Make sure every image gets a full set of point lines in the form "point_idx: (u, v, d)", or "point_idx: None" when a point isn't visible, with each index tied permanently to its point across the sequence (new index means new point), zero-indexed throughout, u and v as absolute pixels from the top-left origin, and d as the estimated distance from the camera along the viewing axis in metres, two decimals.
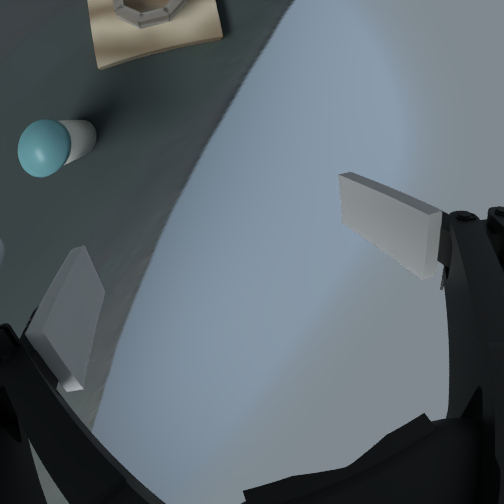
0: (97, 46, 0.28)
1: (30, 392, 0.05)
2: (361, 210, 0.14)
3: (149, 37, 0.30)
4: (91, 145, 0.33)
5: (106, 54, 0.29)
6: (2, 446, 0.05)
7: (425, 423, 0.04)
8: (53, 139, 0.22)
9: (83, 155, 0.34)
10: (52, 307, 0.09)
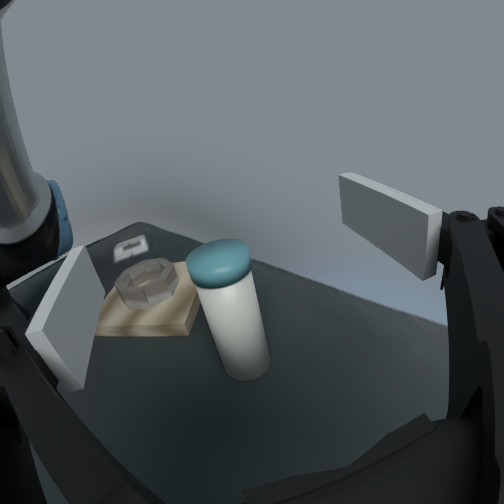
0: (163, 322, 0.38)
1: (30, 392, 0.05)
2: (361, 210, 0.14)
3: (184, 291, 0.43)
4: None
5: (176, 317, 0.38)
6: (2, 446, 0.05)
7: (425, 423, 0.04)
8: (216, 245, 0.27)
9: (267, 346, 0.31)
10: (52, 307, 0.09)
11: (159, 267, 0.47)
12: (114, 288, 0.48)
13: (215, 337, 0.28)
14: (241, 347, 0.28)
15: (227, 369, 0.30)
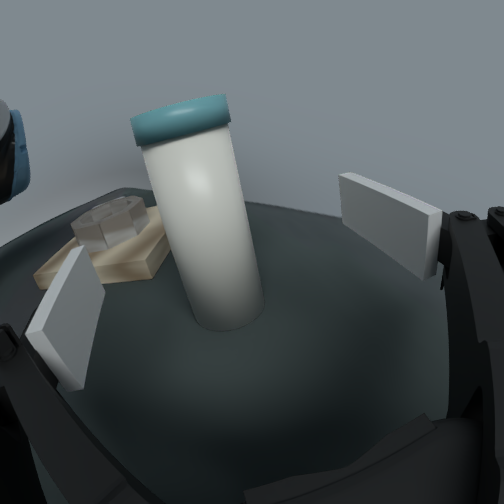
0: (119, 261, 0.27)
1: (30, 392, 0.05)
2: (361, 210, 0.14)
3: (153, 229, 0.33)
4: None
5: (137, 254, 0.28)
6: (2, 446, 0.05)
7: (425, 423, 0.04)
8: None
9: (259, 276, 0.21)
10: (52, 307, 0.09)
11: (127, 206, 0.36)
12: (75, 237, 0.37)
13: (173, 248, 0.18)
14: (214, 262, 0.17)
15: (196, 311, 0.20)
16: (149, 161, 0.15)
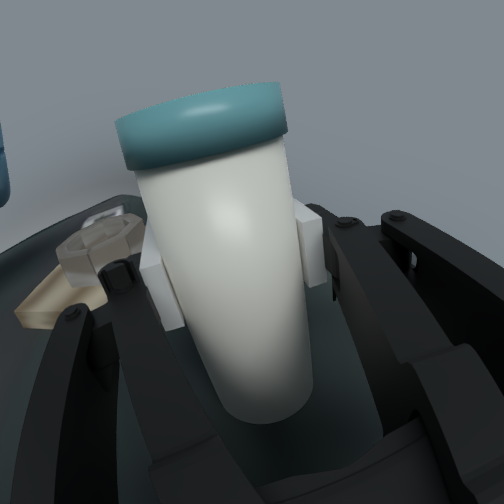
0: None
1: (138, 328, 0.07)
2: None
3: None
4: None
5: None
6: (88, 396, 0.06)
7: None
8: None
9: None
10: None
11: (123, 227, 0.30)
12: None
13: (192, 329, 0.11)
14: (257, 355, 0.11)
15: (223, 400, 0.13)
16: (149, 198, 0.09)
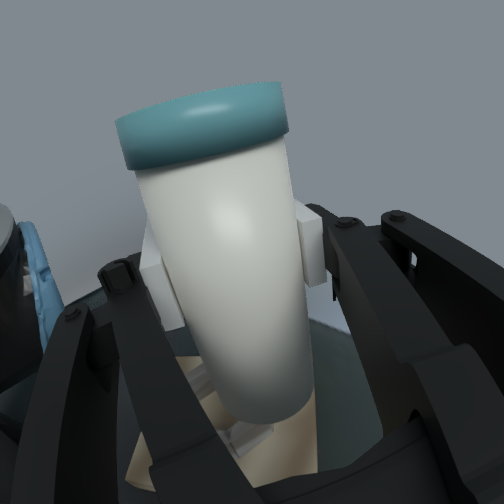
0: None
1: (138, 328, 0.07)
2: None
3: (292, 423, 0.23)
4: None
5: None
6: (88, 396, 0.06)
7: None
8: None
9: None
10: None
11: None
12: None
13: (192, 329, 0.11)
14: (258, 355, 0.11)
15: (224, 401, 0.13)
16: (149, 197, 0.09)
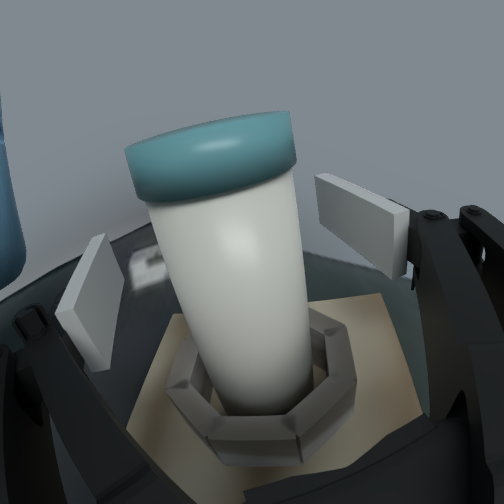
0: None
1: (57, 372, 0.06)
2: (335, 210, 0.14)
3: (381, 397, 0.14)
4: None
5: None
6: (23, 430, 0.05)
7: (425, 423, 0.04)
8: (206, 122, 0.11)
9: None
10: (81, 288, 0.09)
11: None
12: (152, 375, 0.18)
13: (200, 348, 0.12)
14: (263, 373, 0.11)
15: (228, 412, 0.14)
16: (160, 227, 0.09)
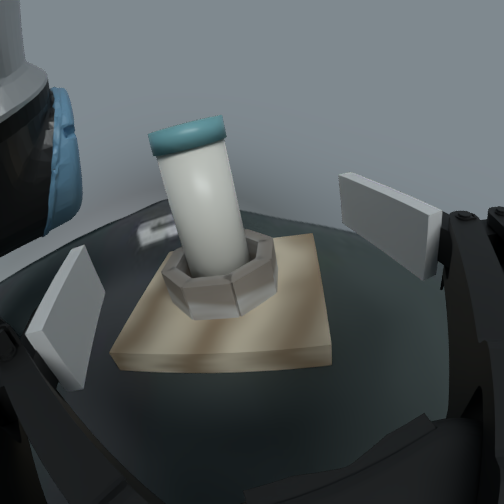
0: (282, 344, 0.19)
1: (30, 392, 0.05)
2: (361, 210, 0.14)
3: (297, 284, 0.25)
4: None
5: (307, 332, 0.20)
6: (2, 446, 0.05)
7: (425, 423, 0.04)
8: None
9: (250, 260, 0.26)
10: (52, 307, 0.09)
11: None
12: (153, 283, 0.29)
13: (181, 235, 0.23)
14: (213, 246, 0.22)
15: None
16: (163, 168, 0.20)
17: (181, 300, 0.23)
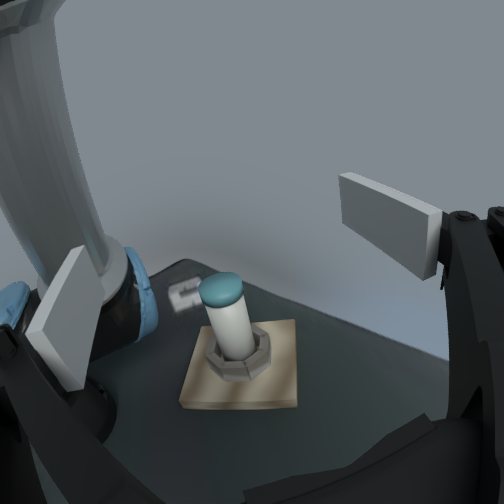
0: (272, 398, 0.37)
1: (30, 392, 0.05)
2: (361, 210, 0.14)
3: (281, 360, 0.42)
4: None
5: (284, 391, 0.37)
6: (2, 446, 0.05)
7: (425, 423, 0.04)
8: (219, 277, 0.39)
9: (255, 346, 0.43)
10: (52, 307, 0.09)
11: None
12: (195, 353, 0.47)
13: (218, 340, 0.40)
14: (236, 347, 0.40)
15: None
16: (209, 311, 0.38)
17: (218, 371, 0.41)
